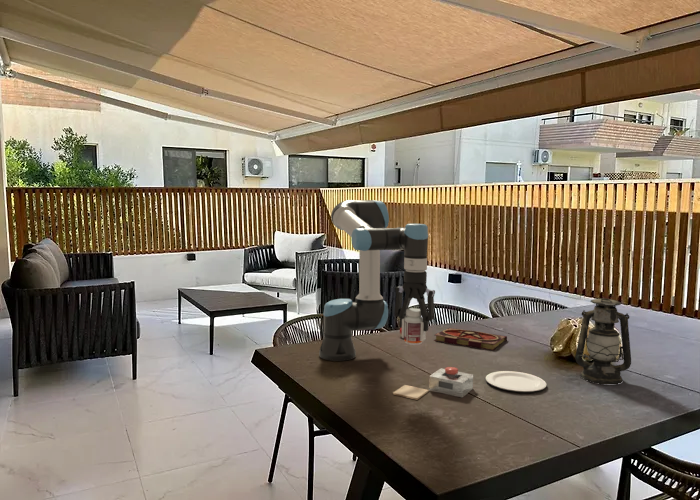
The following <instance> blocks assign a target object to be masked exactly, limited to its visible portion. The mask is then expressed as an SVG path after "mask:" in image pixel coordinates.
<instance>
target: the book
mask: <svg viewBox="0 0 700 500" xmlns="http://www.w3.org/2000/svg"><path fill="white" fill-rule="evenodd" d="M434 336H435V339H434V340H433V342H438V341H439V343H444V344H450V345H456V346H457V345H458V346H462V347H463V346H464V347H468V348H474V349H482V350H487V351H495V350H496V348H498V346H500V345H501V344H502V343H503V342H506V341H507V340H508V337H507V335H501V334H494V333H487V332H482V331H478V330H477V331H475V330H468V329H460V328H454V327H453V328H452V327H448V328H446V329H444V330H442V331H439V332H438V333H434ZM499 344H500V345H499Z"/></svg>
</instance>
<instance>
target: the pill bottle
mask: <svg viewBox="0 0 700 500" xmlns="http://www.w3.org/2000/svg"><path fill="white" fill-rule="evenodd" d="M422 321H423V318H422V315H421V311H420V308H413V307H411V308H410V307H408V309H407V310H406V317H405V333H404V338H403V339H404V340H403V341H404V343H405V344H406V345H409V346H410V345H411V346H419V345H422V344H423V342H424V341H420V333H421V322H422Z"/></svg>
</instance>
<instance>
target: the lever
mask: <svg viewBox="0 0 700 500" xmlns="http://www.w3.org/2000/svg"><path fill="white" fill-rule="evenodd" d="M444 369H445V373H447V374H448V377H452V378H455V374H458V372H459V369H458V367H454V366H446V367H445V368H444Z"/></svg>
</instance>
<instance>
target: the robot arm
mask: <svg viewBox="0 0 700 500" xmlns="http://www.w3.org/2000/svg"><path fill="white" fill-rule="evenodd" d="M389 215H390V214H389V210H388V207H387V205H386V204H385V202H383V201H382V200H373V199H372V200H369V199H367V200H365V199H361V200H360V199H357V200H356V199H355V200H353V199H346V200H344V201H341V202H339V203H337V204H336V205H335V206H334V207H333V208H332V211H331V214H330V219H331V223H332V224H333V226H334V227H335V228H337V229H338V230H340V231H344V232H345V233H346V234H347V235H348V236H349V237H350V238H351V239H350V240H351V245H352V248H353V249H354V250H355V251H359V258H358V261H359V265H358V267H359V268H358V269H359V272H358V273H359V277H358V281H359V282H358V283H359V285H358V286H359V288H358V289H359V291H358V294H357V295H356V297H355V301H353V300H352V299H351V298H337V299H336V298H335V299H331V300H329V301H328V302H326V303H325V304H324V306H323V314H322V315H323V338H322V342H321V345H320V347H319V351H318V352H319V355H318V356H319V357H320V358H321V359H322V360H327V361H332V362H333V361H334V362H342V361H344V362H345V361H349V360H352V359H355V357H356V348H355V345H354V342H353V337H352V336H353V335H352V333H353V332H352V331H363V330H373V331H374V330H376V329H378V330H379V329H382V328H384V326H385V325H386V323H387V322H388V317H389V307H388V306H389V305H388V302H387V301H385V300H384V297H383V296H382V295H381V291H380V290H381V288H380V287H381V286H380V281H381V280H380V279H381V277H380V276H381V274H380V273H381V272H380V271H381V267H380V266H381V251H404V253H403V254H404V258H403V259H404V262H403V264H404V265H403V269H404V271H403V285H399V286H396V287H395V288H394V291H395V305H394V313H393V314H394V316H395V317H398V318H399V328H402V336H401V339H404V333H405V318H406V317H407V315H406V310H407V309H409V308H410V303H411V302H412V299H415V300H416V301H417V303H418V307H419V309H420V311H421V315H422V316H421V317H422V318H423V321H422V322H421V333H420V341H423V342H424V341H426V340H427V332H428V331H429V329H430V328H429V325H430V321H433V320H435V300H434V298H435V294H436V290H434V289H430V288H428V286H427V277H428V276H427V273H428V272H427V269H428V242H429V233H428V232H429V231H428V230H429V228H428V225H427V224H424V223H407V224H405V226H403V227H401V226H399V227H393V228H392V227H388V226H389V223H390V217H389ZM403 292H404V293H405V296H404V301H403ZM425 294H426V296H427V298H425ZM425 300H427V301H425ZM402 302H403V303H402ZM426 302H427V304H426Z"/></svg>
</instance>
